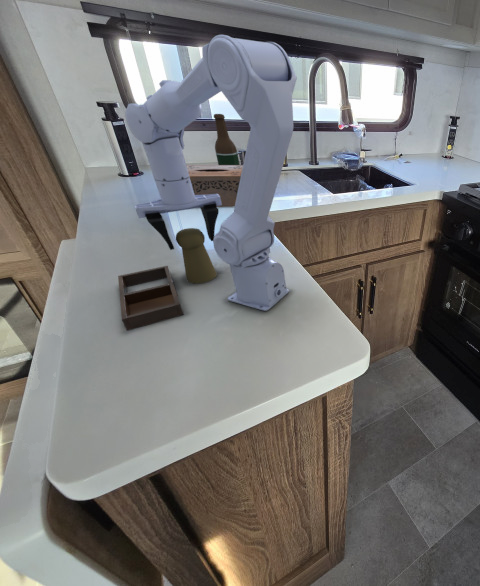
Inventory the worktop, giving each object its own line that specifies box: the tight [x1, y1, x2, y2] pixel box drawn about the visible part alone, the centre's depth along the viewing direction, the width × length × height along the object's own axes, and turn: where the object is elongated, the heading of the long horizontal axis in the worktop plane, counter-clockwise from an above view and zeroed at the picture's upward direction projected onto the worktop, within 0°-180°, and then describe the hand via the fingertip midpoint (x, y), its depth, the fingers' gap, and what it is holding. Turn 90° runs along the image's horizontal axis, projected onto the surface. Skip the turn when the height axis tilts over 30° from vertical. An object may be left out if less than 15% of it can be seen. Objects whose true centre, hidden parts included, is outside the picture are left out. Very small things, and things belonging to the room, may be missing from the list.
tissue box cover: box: [186, 164, 243, 208], centre depth 113 cm, size 26×14×10 cm, turn 104°
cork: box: [175, 227, 218, 284], centre depth 71 cm, size 6×6×11 cm
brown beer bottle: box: [213, 113, 241, 165], centre depth 127 cm, size 8×8×24 cm
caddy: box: [117, 265, 184, 331], centre depth 65 cm, size 17×9×2 cm, turn 36°
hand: (192, 243), depth 69 cm, fingers open, 7 cm apart
